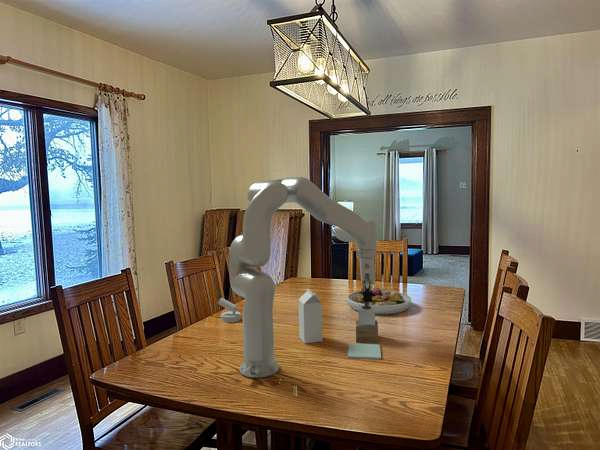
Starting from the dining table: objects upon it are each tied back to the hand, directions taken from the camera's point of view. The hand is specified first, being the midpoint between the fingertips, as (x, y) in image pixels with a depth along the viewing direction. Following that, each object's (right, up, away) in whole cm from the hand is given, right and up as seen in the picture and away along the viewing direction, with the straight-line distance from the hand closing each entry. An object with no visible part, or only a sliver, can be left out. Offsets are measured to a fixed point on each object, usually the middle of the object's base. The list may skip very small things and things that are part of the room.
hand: (367, 298), depth 158 cm
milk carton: (-21, -16, +1) cm, 27 cm away
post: (0, -15, +1) cm, 16 cm away
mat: (-3, -17, -12) cm, 21 cm away
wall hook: (-57, -15, +29) cm, 65 cm away
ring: (0, -10, +1) cm, 10 cm away
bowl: (+12, -12, +44) cm, 47 cm away
